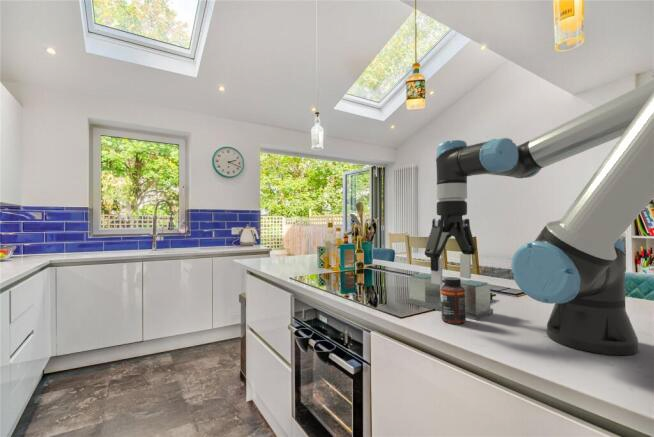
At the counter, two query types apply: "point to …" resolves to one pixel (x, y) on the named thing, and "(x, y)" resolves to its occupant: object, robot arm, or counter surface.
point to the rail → (429, 297)
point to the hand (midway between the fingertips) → (451, 280)
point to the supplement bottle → (453, 301)
